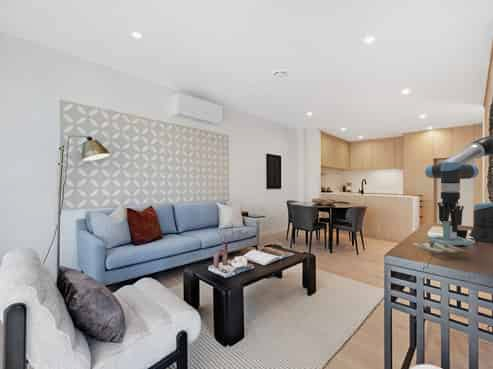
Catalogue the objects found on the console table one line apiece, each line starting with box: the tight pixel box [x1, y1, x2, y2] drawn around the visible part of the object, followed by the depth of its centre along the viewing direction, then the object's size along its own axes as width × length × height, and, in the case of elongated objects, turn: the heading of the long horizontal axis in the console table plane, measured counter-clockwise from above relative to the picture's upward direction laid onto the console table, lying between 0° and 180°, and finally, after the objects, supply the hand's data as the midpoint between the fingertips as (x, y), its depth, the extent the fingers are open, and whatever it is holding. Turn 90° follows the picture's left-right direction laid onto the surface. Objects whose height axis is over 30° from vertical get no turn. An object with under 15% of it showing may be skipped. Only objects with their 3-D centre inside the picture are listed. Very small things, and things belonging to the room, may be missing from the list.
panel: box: [427, 220, 475, 246], centre depth 122 cm, size 15×10×10 cm, turn 89°
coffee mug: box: [452, 226, 469, 248], centre depth 142 cm, size 12×9×10 cm
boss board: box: [412, 240, 465, 254], centre depth 135 cm, size 18×14×4 cm
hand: (449, 236), depth 123 cm, fingers closed on panel, 3 cm apart
